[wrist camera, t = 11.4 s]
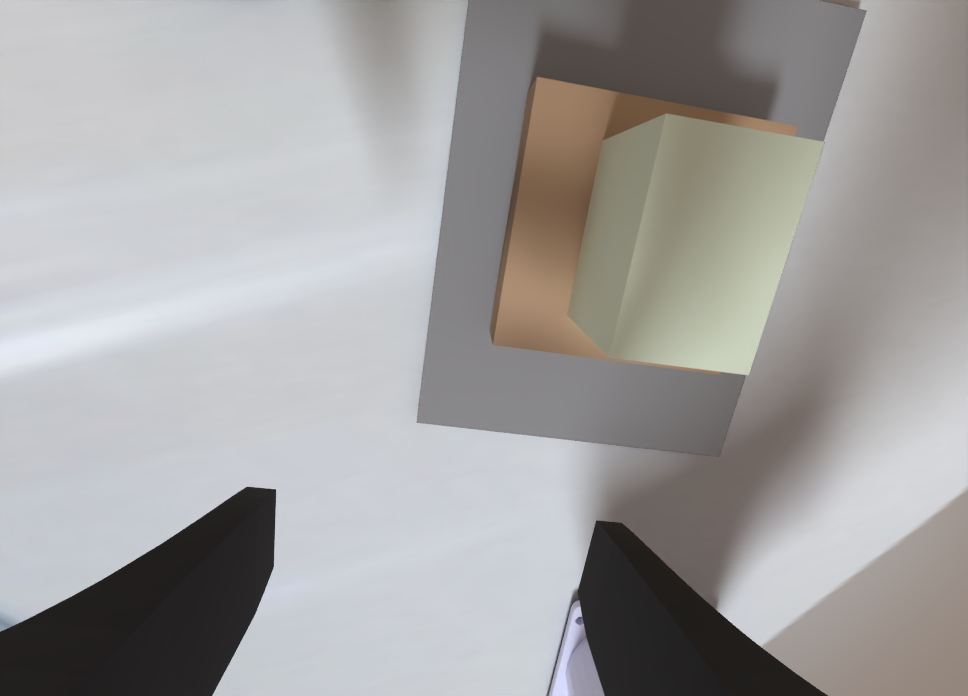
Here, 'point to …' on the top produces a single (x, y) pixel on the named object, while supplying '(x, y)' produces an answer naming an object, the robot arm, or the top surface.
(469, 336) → the grey mat
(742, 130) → the sage brick
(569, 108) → the walnut base brick
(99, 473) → the top surface
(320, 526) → the top surface
